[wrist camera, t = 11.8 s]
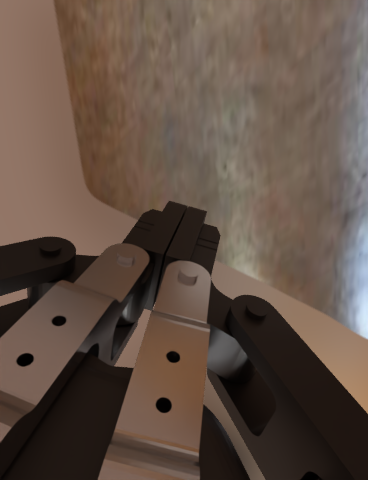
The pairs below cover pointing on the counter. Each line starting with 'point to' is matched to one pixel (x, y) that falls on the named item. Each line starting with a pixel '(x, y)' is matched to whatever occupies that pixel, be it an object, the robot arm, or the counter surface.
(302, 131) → the counter surface
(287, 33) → the counter surface
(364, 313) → the counter surface
